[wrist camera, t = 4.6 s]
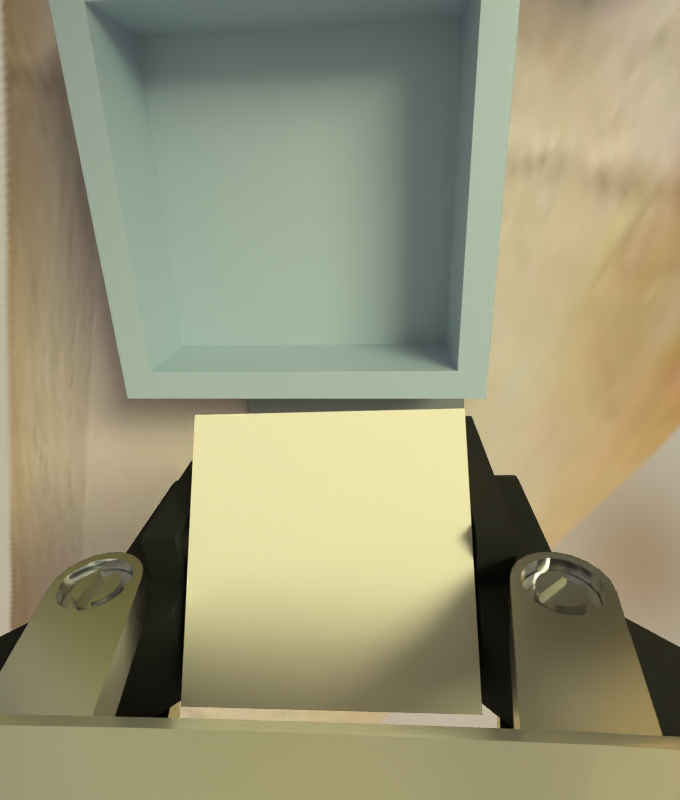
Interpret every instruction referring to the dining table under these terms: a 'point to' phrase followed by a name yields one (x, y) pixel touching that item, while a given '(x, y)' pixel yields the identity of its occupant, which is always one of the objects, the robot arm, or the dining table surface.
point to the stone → (331, 563)
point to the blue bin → (294, 190)
